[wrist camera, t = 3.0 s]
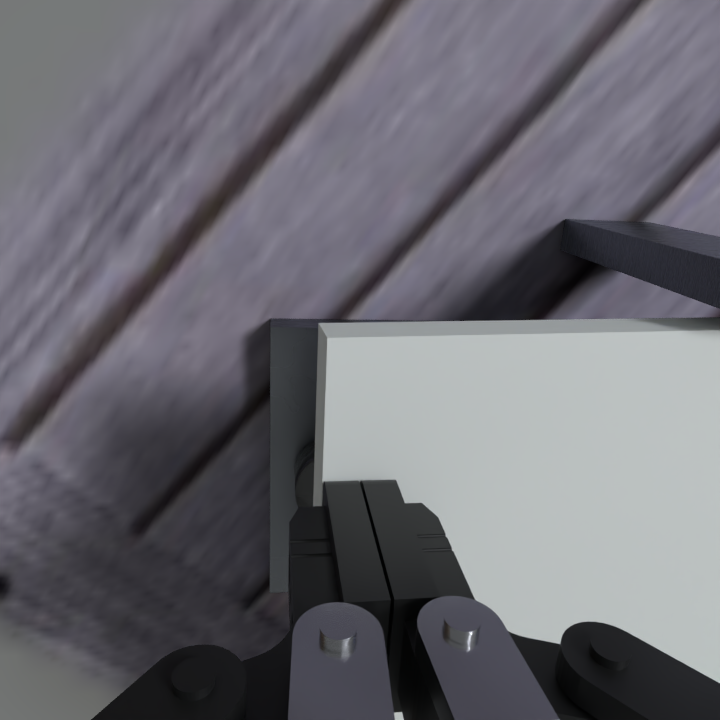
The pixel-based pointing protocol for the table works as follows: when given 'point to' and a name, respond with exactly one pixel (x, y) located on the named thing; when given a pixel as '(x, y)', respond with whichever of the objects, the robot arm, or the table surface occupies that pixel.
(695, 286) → the base
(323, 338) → the levelling plate
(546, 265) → the table surface
